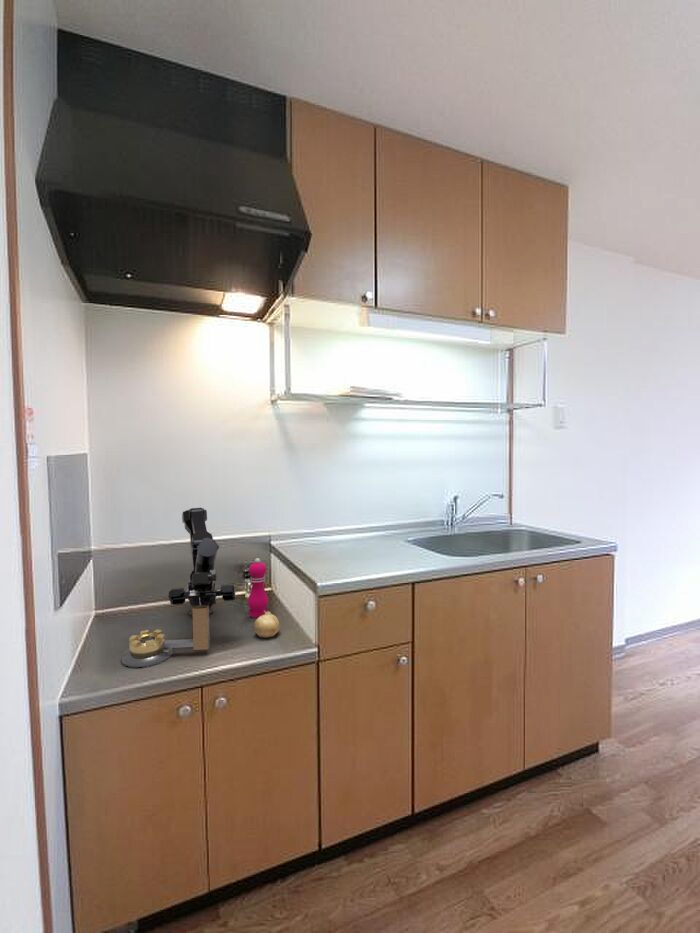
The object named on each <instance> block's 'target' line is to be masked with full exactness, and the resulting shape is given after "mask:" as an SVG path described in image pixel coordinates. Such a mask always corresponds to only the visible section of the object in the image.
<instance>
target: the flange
mask: <svg viewBox="0 0 700 933" xmlns="http://www.w3.org/2000/svg"><path fill="white" fill-rule="evenodd" d="M172 655H173V648H164V650H163V651H162V652H160V653H159V654H157V655H154V656H151V657H146V658H135V657H132V656H131V655H130V647H129V648H127V649H125V650H124V651H123V652H122V654H121V663H122V665H123V666H124V667H126V666H128V667H127V668H130V667H132V668H131V669H137V668H136V667H145V668H148V667H147V666H150V667H152V666H151V665H154V666H156V665H155V664H157V665H159V664H161V663H160V662H162V661H164V660H165V661H167V660H168V659H169V658H170V657H172ZM167 658H168V659H167ZM166 659H167V660H166ZM165 661H164V662H165ZM158 663H159V664H158ZM162 663H163V662H162Z"/></svg>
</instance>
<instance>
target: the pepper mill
mask: <svg viewBox="0 0 700 933" xmlns="http://www.w3.org/2000/svg"><path fill="white" fill-rule="evenodd" d="M266 573H267V566H266V564H265V563H263V562H262V561H261V560H260V558H259V557H257V558H255V559H254V562H253V563H252V564H250V566H249V568H248V574H249V575H250V582H251V590H250V594H249V595H248V599H247V606H248V607H249V609H248V615H249V617H251V618H254V619H255V618H256V619H257V618H259V617H260V616H262V615H265V612H267V611H268V608H267V607H268V605H269V597H268V594H267V592H266V588H265V581H266V576H265V574H266ZM264 611H265V612H264Z"/></svg>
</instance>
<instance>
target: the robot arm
mask: <svg viewBox="0 0 700 933" xmlns="http://www.w3.org/2000/svg"><path fill="white" fill-rule="evenodd" d="M181 520H182V523H183V524H184V529H185V530H186V532H187V533H188V534H189V538H190V540H189V548H190V550H189V551H190V554H191V563H192V571H191V573H190V575H189V578H188V582H187V585H186V591H185V589H184V587H177V588H176V587H175V588H174V587H173V588H171V589H170V590H169V591H168V600H169V603H170V605H173V606H174V605H175V606H177V605H184V603H185V602H186V599H187V600H188V601H189V604H190V607H191V610H189V611H188V612H187V613H188V615H190V616H191V617H193V611H192V609H193V607H194V606H196V605H209V615H212V614H214V611H213V610H211V608H212V606H213V605H216V604H217V597H221V598H222V600H223V601H226V602H227V601H228V602H229V601H235V600H236V588H235V585H234V584H233V583H232V584H221V585H220V589H215V588H216V583H215V582H217V581H218V573H217V572H218V571H217V569H215V563H216V560H217V554H218V550H219V548H220V547H219V546H220V545H219V544H218V543H217V542H216V540H215V539H214V537H213V534H212V533H210V532H208V531H207V524H206V521H208V512H207V509H204V508H203V507H192V508H189V509H188V510H187V509H186V510H185V511H182V514H181Z"/></svg>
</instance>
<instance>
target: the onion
mask: <svg viewBox="0 0 700 933" xmlns="http://www.w3.org/2000/svg"><path fill="white" fill-rule="evenodd" d="M264 612H265V611H264ZM253 628H254V632H255V633H256V635H257V636H258V637H259V638H263V639H268V638H272V637H274V636H276V634H278V632H279V630H280V621H279V619H278V618H277V616H276V615H274V614H272V612H271V611H268V610H267V612H265V615H262V616H260V617H259V618H256V620H255V621H254V624H253Z"/></svg>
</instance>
